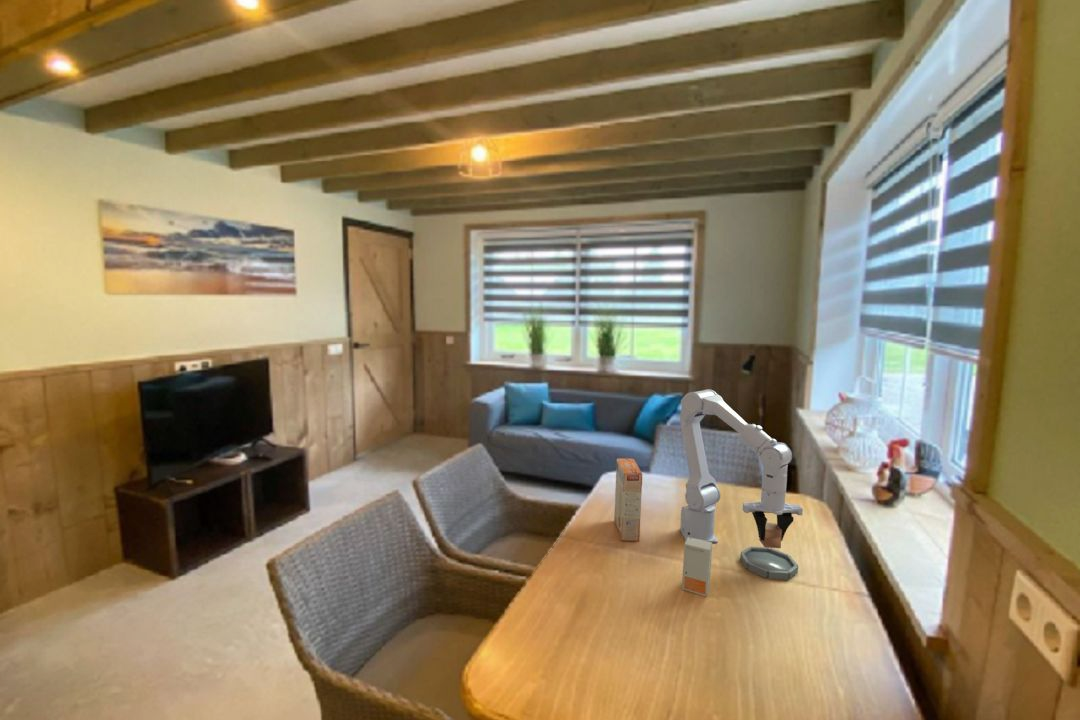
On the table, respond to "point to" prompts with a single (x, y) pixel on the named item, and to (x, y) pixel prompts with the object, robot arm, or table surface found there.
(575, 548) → the table surface
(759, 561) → the dish
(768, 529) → the block
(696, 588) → the skincare box
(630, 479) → the cracker box
